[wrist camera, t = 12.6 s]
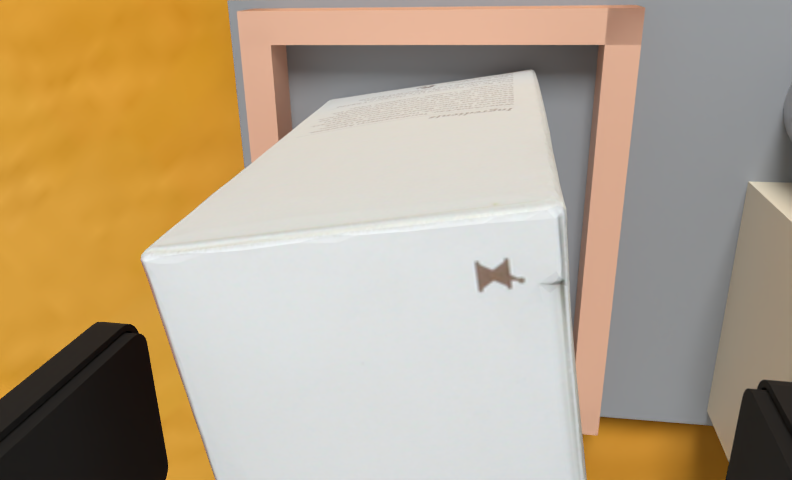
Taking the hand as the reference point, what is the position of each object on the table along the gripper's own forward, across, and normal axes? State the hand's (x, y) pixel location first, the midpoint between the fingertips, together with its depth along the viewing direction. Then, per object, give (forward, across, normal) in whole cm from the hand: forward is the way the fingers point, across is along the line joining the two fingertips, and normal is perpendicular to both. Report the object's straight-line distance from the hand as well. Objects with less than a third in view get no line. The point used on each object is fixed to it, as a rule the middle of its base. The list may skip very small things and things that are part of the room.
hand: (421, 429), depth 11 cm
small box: (+9, +1, 0) cm, 9 cm away
